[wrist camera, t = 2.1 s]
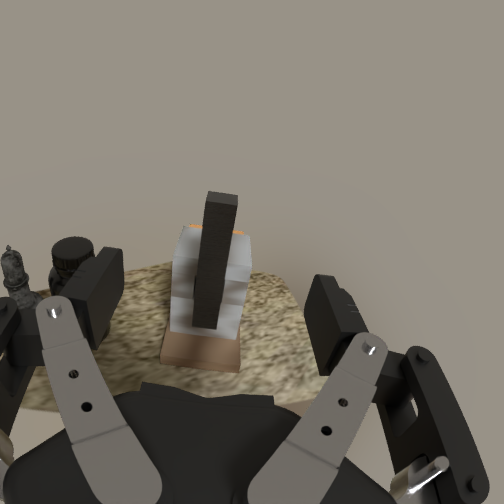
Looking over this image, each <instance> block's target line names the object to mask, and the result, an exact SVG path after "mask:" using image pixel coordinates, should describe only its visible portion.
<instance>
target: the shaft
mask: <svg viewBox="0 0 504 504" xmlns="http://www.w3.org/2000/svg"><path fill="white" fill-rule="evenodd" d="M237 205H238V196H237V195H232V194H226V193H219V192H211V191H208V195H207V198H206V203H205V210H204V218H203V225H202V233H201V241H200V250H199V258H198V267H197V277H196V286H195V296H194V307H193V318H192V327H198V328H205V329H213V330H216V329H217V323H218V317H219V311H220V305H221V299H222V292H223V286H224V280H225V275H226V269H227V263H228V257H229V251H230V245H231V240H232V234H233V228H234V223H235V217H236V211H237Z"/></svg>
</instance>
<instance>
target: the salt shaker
mask: <svg viewBox="0 0 504 504" xmlns="http://www.w3.org/2000/svg"><path fill="white" fill-rule="evenodd" d="M6 250H7V251H6V252H5V253H4V254H3V255H2V257H1V266H2V270H3V274H4V277H5V279H4V281H3V284H4V286H5V287H6V288H7V290H8V293H9V296H10V298H13V299H14V300H15V301H16V303H17V305H18V308H19V309H36V307H37V305H38V304H39V303H40V302H41V301H42V300H43V298H42V297H41V295H39V294H38V293H36V292H34V291H30V289H29V285H28V281H29V276H28V274H27V273H25V271H24V266H23V262H22V257H21V255H20V253H19V252H17V251H15V250H11V247H10V246H9V245H7V248H6Z"/></svg>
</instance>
